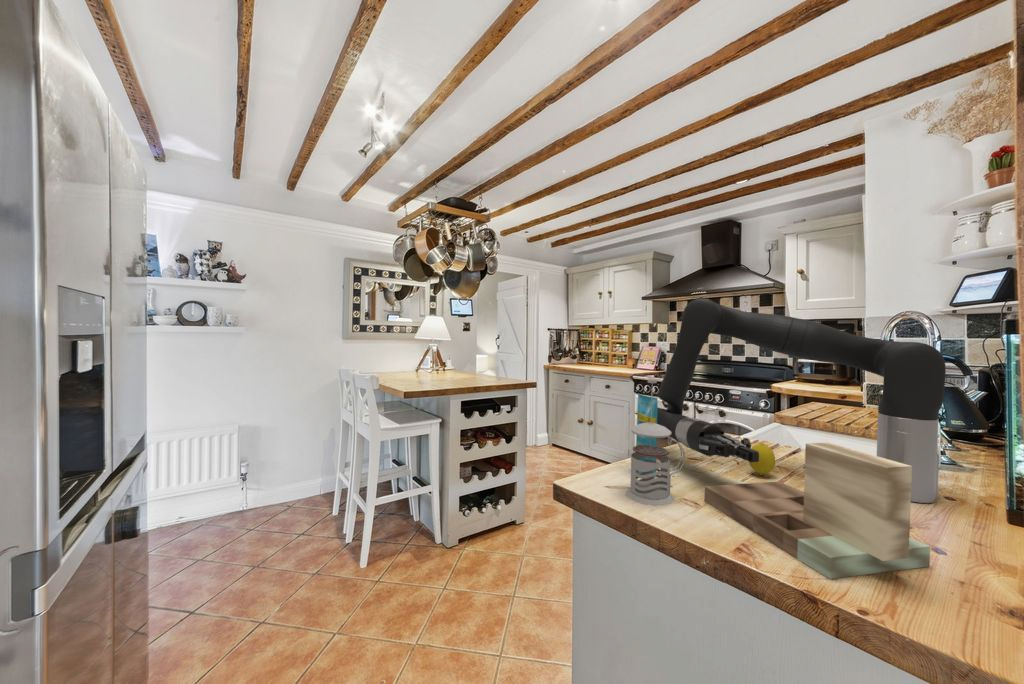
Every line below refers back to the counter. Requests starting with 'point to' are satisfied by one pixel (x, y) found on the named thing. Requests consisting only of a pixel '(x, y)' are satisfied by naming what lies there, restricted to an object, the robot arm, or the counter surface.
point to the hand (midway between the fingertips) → (755, 457)
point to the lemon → (763, 459)
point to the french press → (651, 465)
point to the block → (859, 499)
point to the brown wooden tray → (802, 530)
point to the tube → (646, 421)
